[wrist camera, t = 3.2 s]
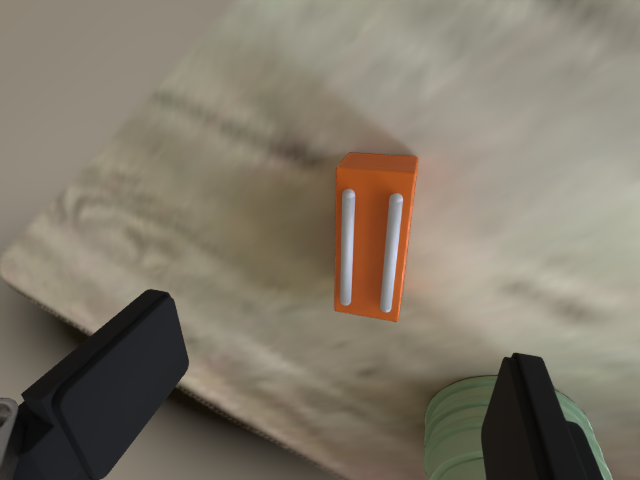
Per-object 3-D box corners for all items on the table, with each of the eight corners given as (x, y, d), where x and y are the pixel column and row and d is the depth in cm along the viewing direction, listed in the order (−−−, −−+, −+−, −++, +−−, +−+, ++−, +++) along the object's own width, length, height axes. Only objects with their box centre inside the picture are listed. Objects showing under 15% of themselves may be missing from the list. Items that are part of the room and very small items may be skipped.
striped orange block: (348, 151, 16) (331, 170, 13) (419, 156, 15) (415, 177, 12) (345, 283, 19) (331, 318, 16) (402, 292, 18) (396, 330, 16)
